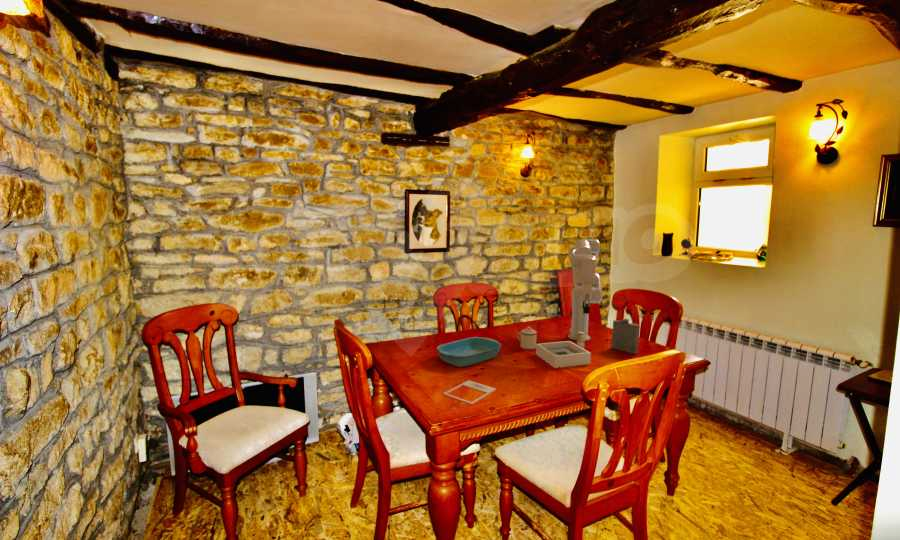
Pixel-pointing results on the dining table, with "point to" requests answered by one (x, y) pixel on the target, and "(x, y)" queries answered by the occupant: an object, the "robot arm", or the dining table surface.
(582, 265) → the robot arm
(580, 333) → the peg
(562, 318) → the dining table surface
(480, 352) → the casserole dish
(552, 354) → the open top box
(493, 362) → the dining table surface
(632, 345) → the flask
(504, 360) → the dining table surface
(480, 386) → the photo frame
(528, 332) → the teacup with lid
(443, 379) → the dining table surface
